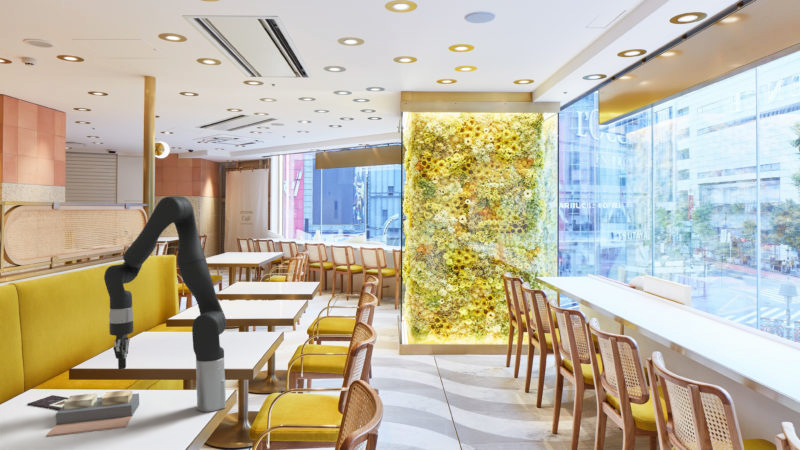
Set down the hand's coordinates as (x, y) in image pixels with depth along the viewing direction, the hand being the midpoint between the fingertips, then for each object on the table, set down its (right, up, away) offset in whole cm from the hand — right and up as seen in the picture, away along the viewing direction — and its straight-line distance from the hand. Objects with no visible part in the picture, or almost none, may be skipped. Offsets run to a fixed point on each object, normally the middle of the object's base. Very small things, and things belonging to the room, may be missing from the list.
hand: (122, 368), depth 184 cm
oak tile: (+3, -8, -8) cm, 11 cm away
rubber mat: (0, -13, -19) cm, 23 cm away
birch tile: (-8, -8, -11) cm, 16 cm away
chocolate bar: (-25, -14, +2) cm, 28 cm away
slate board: (-3, -13, -9) cm, 16 cm away
